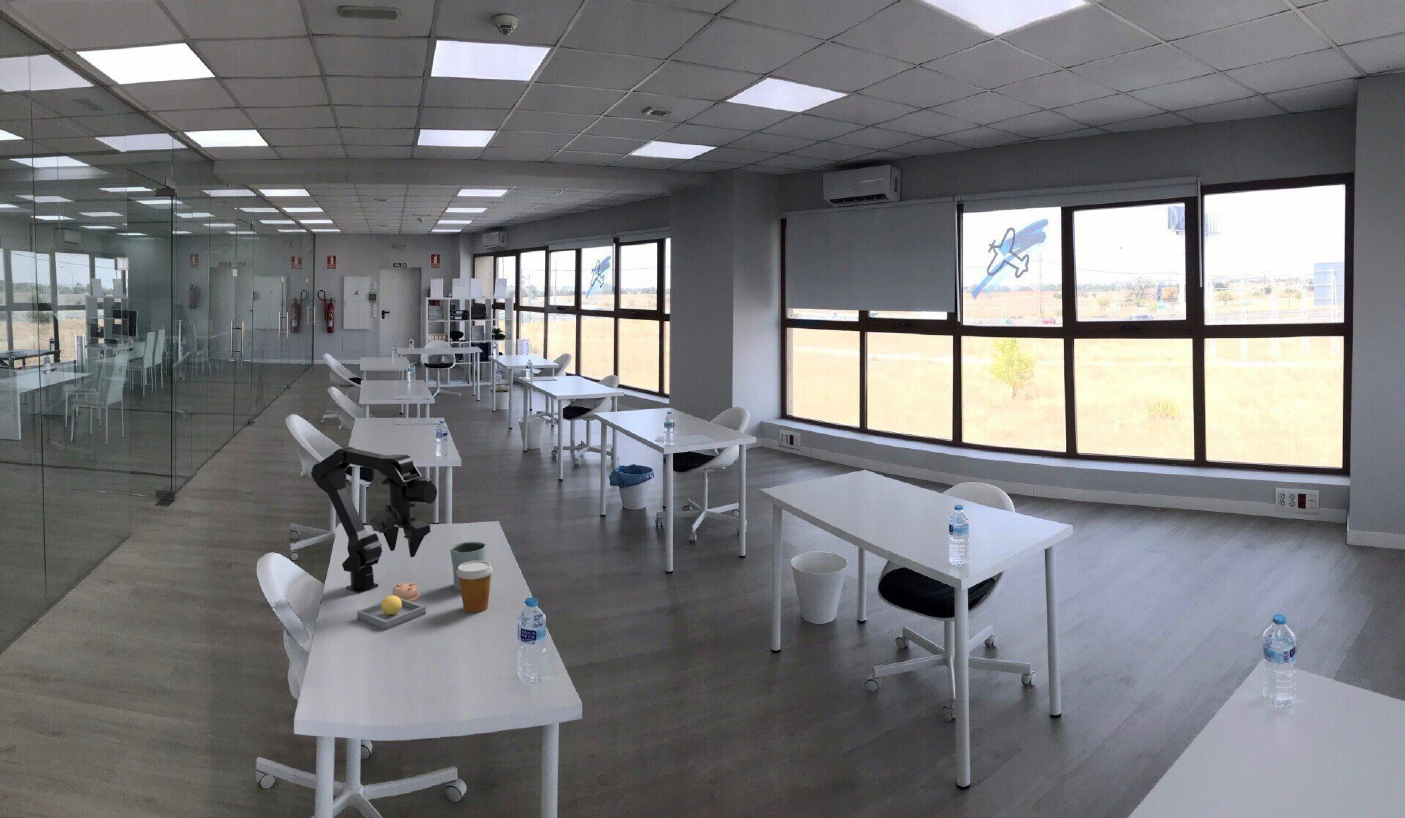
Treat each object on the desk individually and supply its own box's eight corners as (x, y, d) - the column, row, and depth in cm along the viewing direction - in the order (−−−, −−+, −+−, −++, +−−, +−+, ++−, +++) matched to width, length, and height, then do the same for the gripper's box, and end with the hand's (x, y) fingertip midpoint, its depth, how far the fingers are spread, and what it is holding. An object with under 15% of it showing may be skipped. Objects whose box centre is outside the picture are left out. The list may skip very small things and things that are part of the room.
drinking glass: (459, 595, 212) (457, 554, 210) (446, 584, 220) (444, 545, 218) (492, 587, 218) (491, 547, 217) (479, 577, 226) (478, 539, 225)
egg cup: (385, 599, 208) (384, 587, 208) (408, 590, 215) (407, 578, 214) (402, 605, 204) (401, 592, 204) (425, 596, 211) (425, 584, 210)
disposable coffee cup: (483, 616, 197) (482, 573, 196) (450, 613, 199) (449, 570, 198) (500, 602, 207) (499, 561, 205) (468, 599, 209) (467, 558, 207)
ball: (377, 615, 196) (376, 597, 195) (394, 609, 200) (393, 591, 200) (389, 619, 193) (388, 600, 193) (406, 612, 198) (405, 594, 197)
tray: (357, 619, 195) (357, 611, 195) (397, 604, 205) (397, 596, 205) (386, 629, 189) (385, 622, 188) (425, 613, 199) (425, 606, 198)
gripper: (354, 501, 207) (356, 554, 209) (395, 512, 197) (397, 568, 199) (389, 493, 216) (392, 544, 218) (430, 503, 206) (432, 557, 208)
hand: (402, 553), depth 211 cm, fingers open, 9 cm apart
